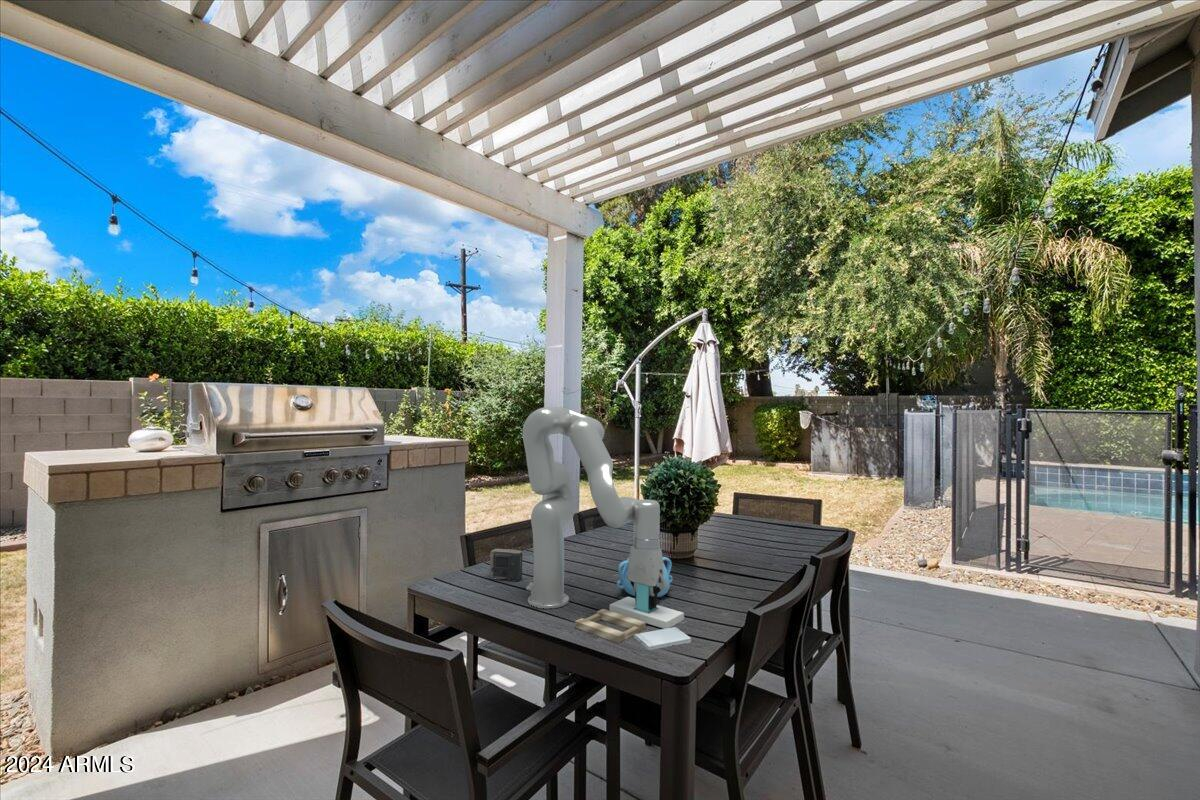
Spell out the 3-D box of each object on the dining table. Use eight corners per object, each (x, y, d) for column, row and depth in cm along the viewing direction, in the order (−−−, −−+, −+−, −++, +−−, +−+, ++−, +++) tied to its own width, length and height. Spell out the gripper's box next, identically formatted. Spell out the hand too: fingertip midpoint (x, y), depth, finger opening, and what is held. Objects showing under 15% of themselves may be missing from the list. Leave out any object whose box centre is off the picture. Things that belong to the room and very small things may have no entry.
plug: (636, 610, 160) (636, 583, 160) (644, 606, 163) (644, 579, 163) (647, 614, 157) (647, 586, 157) (655, 610, 160) (655, 582, 160)
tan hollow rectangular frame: (575, 627, 151) (575, 621, 151) (603, 615, 160) (603, 608, 160) (618, 643, 141) (618, 636, 141) (645, 628, 150) (645, 622, 150)
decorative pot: (610, 596, 176) (610, 553, 176) (634, 582, 190) (634, 542, 190) (656, 606, 167) (656, 561, 167) (678, 591, 181) (678, 549, 181)
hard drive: (674, 626, 150) (633, 633, 145) (691, 637, 142) (648, 645, 137) (674, 632, 150) (633, 639, 145) (691, 644, 142) (648, 652, 137)
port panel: (609, 611, 163) (609, 604, 163) (627, 603, 170) (627, 596, 170) (666, 629, 150) (666, 622, 150) (684, 619, 157) (684, 612, 157)
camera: (524, 578, 193) (524, 549, 193) (517, 583, 188) (518, 553, 188) (494, 575, 196) (495, 547, 197) (487, 580, 191) (487, 551, 191)
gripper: (615, 540, 163) (615, 603, 162) (663, 550, 152) (662, 617, 152) (631, 536, 168) (630, 596, 168) (678, 545, 158) (677, 610, 157)
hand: (646, 605), depth 160 cm, fingers closed on plug, 3 cm apart
